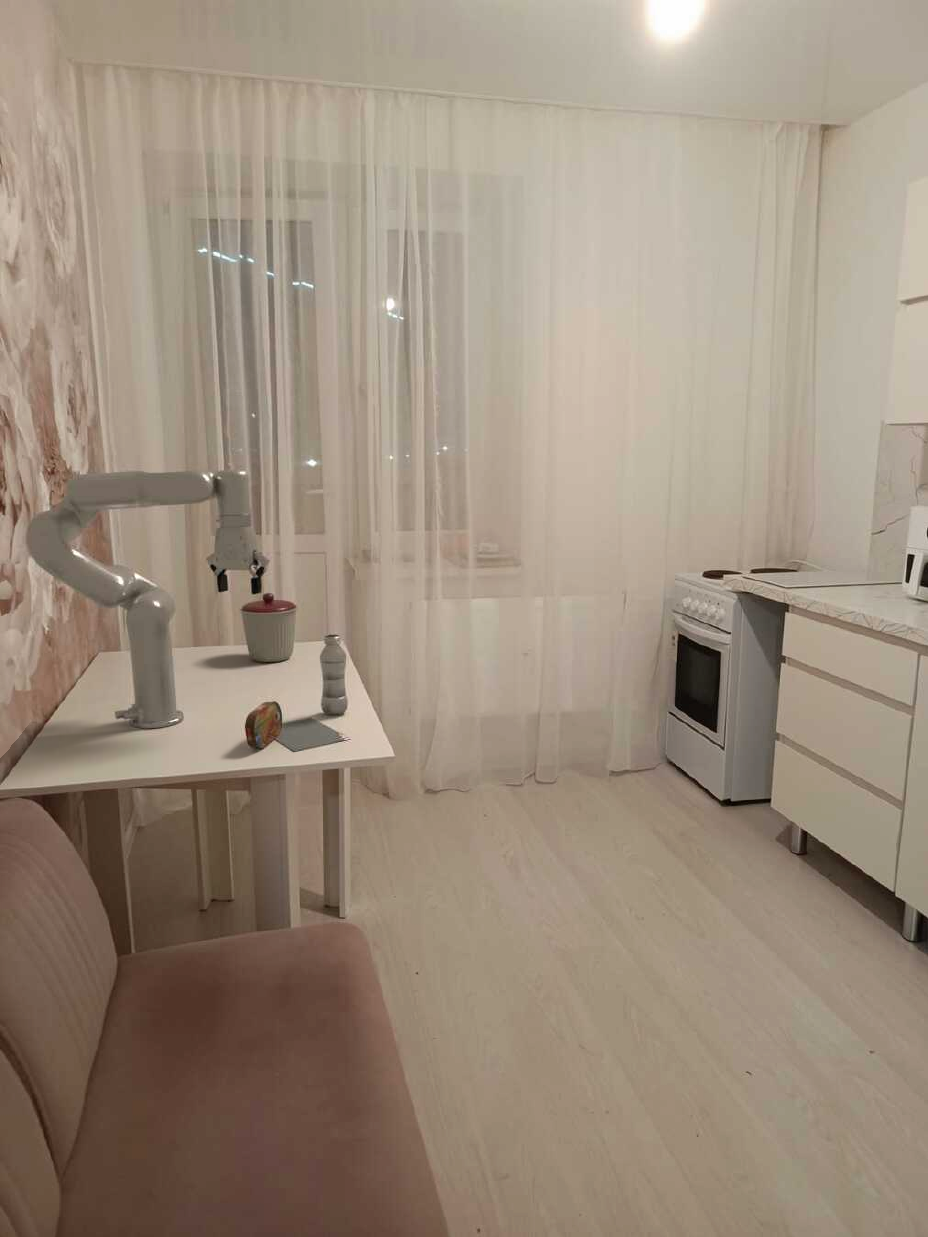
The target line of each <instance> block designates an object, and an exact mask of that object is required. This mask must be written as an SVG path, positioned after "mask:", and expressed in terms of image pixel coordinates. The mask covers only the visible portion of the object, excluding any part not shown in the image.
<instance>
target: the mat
mask: <svg viewBox="0 0 928 1237" xmlns="http://www.w3.org/2000/svg"><path fill="white" fill-rule="evenodd" d="M339 734H342V735H344V734H343V733H341V732H339V731H337V730H335V729H333V728H331V727H330V726H328V725H326V724H324V723H322V722H320V721H318V720H317V719H315V718H314V717H306V718H302V719H298V720H297V719H296V720H292V721H288V722H282V727H281V731H280V733H279V735H278V736H277V737H276V738H275V739H274V741H276V742H278V743H279V744H280V745H283V746H284V747H286V748H287V749H289V750H290V751H292V752H293V753H296V752H300V751H304V749H305V750H308V748H310V749H313V748H312V747H314V748H318V747H317V746H319V747H321V746H320V745H323V746H327V745H331V744H336V742H337V743H340V742H339V741H341V742H344V741H343V740H344V739H345V738H342V736H340V735H339ZM347 737H348V736H346V738H347ZM341 738H342V739H341Z"/></svg>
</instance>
